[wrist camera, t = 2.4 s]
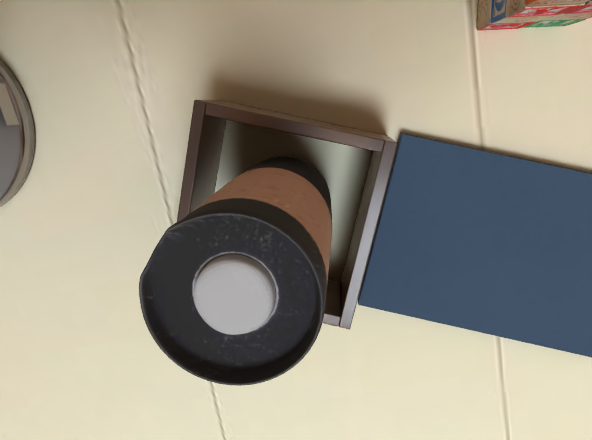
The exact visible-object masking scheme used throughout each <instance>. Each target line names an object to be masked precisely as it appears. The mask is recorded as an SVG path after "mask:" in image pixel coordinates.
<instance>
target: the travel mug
mask: <svg viewBox="0 0 592 440" xmlns="http://www.w3.org/2000/svg"><path fill="white" fill-rule="evenodd" d="M331 240H332V213H331V199H330V192H329V189H328V186H327V183H326V181H325V179H324V178H323V176H322V175H321V173H320V172H319V171H318V170H317V169H316V168H315V167H314V166H312V165H311V164H310V163H308V162H306V161H304V160H302V159H299V158H295V157H288V156H281V157H275V158H271V159H268V160H266V161H264V162H262V163H260V164H258V165H256V166H254V167H253V168H251V169H249V170H247V171H246V172H244V173H242V174H240V175H239V176H237V177H236V178H234V179H233V180H231V181H230V182H229V183H228V184H226V185H225V186H224V187H222V188H221V189H220V190H219V191H217V192H216V193H215V194H214V195H212V196H211V197H210V198H208V199H207V200H206V201H205V202H203V203H202V204H201V205H200V206H198V207H197V208H196V209H194V210H193V211H192V212H191V213H189V214H188V215H187V216H186V217H184V218H183V219H182V220H180V221H179V222H177V223H175V224H174V225H172V226H171V227H169V228H168V229H167V230H166V232H165V233H164V235H163V237H162V238H161V240H160V241H159V243H158V244H157V246H156V248H155V249H154V251H153V253H152V255H151V257H150V259H149V261H148V263H147V265H146V267H145V269H144V270H143V272H142V274H141V277H140V282H139V295H140V303H141V309H142V313H143V317H144V320H145V322H146V325H147V327H148V330H149V331H150V333H151V335H152V337H153V339H154V340H155V342H156V343H157V344H158V346H159V347H160V349H161V350H162V351H163V352H164V353H165V354H166V355H167V356H168V357H169V358H170V359H171V360H172V361H173V362H175V363H176V364H177V365H178V366H180V367H181V368H183V369H184V370H186V371H188V372H189V373H191V374H193V375H195V376H197V377H200V378H202V379H205V380H207V381H211V382H215V383H219V384H226V385H251V384H257V383H261V382H265V381H268V380H271V379H273V378H276V377H278V376H280V375H282V374H284V373H285V372H287V371H288V370H290V369H291V368H293V367H294V366H295V365H296V364H297V363H298V362H299V361H301V360H302V359H303V357H304V356H305V355H306V354H307V353H308V351H309V350H310V349H311V347H312V345H313V344H314V342H315V340H316V338H317V336H318V333H319V331H320V328H321V325H322V321H323V317H324V311H325V302H326V291H327V281H328V271H329V260H330V250H331Z"/></svg>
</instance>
